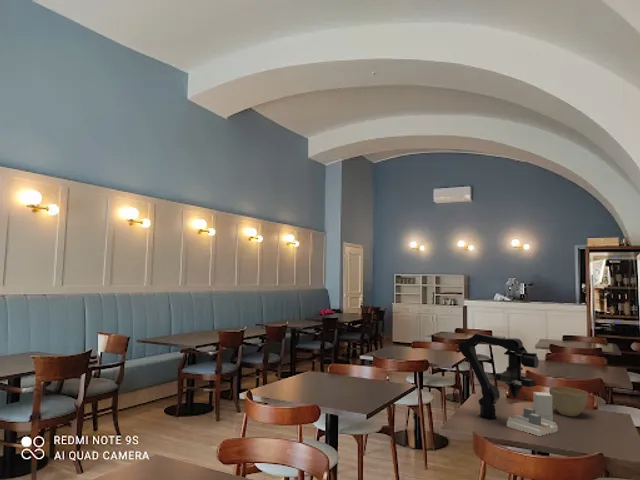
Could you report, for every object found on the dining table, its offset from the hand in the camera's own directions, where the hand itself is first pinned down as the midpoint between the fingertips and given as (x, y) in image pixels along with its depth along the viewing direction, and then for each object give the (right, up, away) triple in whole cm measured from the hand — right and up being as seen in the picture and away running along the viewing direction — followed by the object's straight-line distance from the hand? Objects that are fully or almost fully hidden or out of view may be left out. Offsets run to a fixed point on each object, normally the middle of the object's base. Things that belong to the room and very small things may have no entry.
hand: (514, 397), depth 228 cm
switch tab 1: (+6, -9, -3) cm, 11 cm away
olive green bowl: (+36, -15, +19) cm, 43 cm away
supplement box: (+17, -13, +7) cm, 23 cm away
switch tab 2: (+4, -8, -13) cm, 16 cm away
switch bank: (+5, -12, -8) cm, 15 cm away
